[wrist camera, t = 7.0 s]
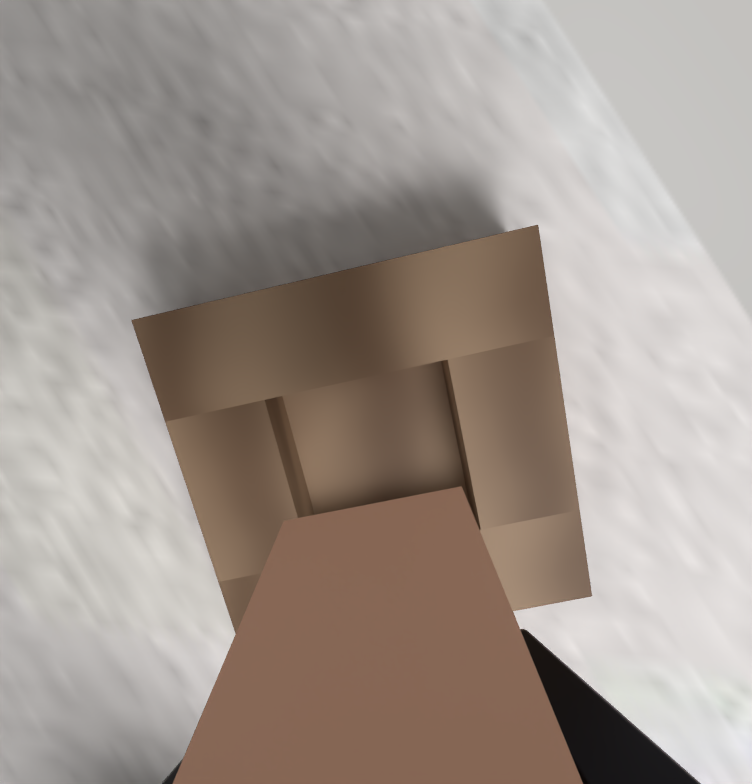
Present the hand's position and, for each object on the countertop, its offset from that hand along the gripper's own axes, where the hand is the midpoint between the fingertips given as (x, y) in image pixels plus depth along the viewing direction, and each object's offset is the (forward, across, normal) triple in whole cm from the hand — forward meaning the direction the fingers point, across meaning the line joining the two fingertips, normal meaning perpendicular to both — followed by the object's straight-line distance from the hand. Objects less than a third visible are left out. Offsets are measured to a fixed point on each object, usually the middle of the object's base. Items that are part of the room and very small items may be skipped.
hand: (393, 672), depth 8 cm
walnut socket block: (+13, 0, 0) cm, 13 cm away
